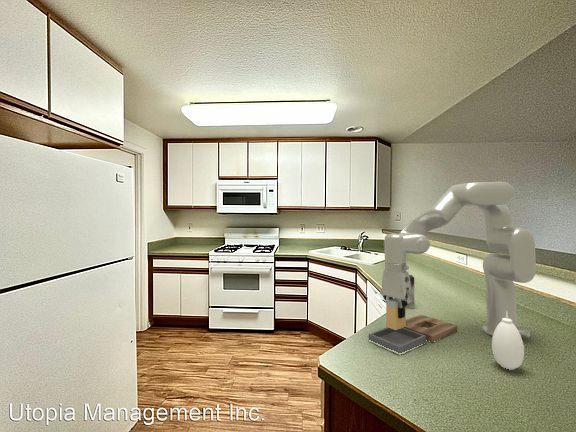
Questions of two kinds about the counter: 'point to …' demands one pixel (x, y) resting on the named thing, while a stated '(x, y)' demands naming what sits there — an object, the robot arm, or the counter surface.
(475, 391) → the counter surface
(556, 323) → the counter surface
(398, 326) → the block
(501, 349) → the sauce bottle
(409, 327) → the wooden plate with hole
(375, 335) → the parts tray
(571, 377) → the counter surface
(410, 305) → the coffee box
